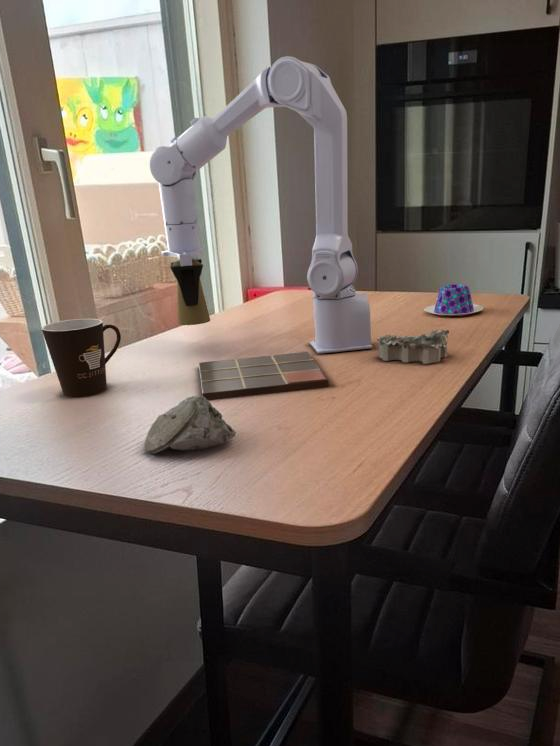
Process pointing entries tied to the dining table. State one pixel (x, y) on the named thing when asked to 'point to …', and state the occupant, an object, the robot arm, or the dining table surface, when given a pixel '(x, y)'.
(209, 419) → the fossilized seashell
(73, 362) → the coffee mug
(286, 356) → the board
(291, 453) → the dining table surface
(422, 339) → the egg carton
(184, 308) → the olive pawn
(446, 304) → the pudding
